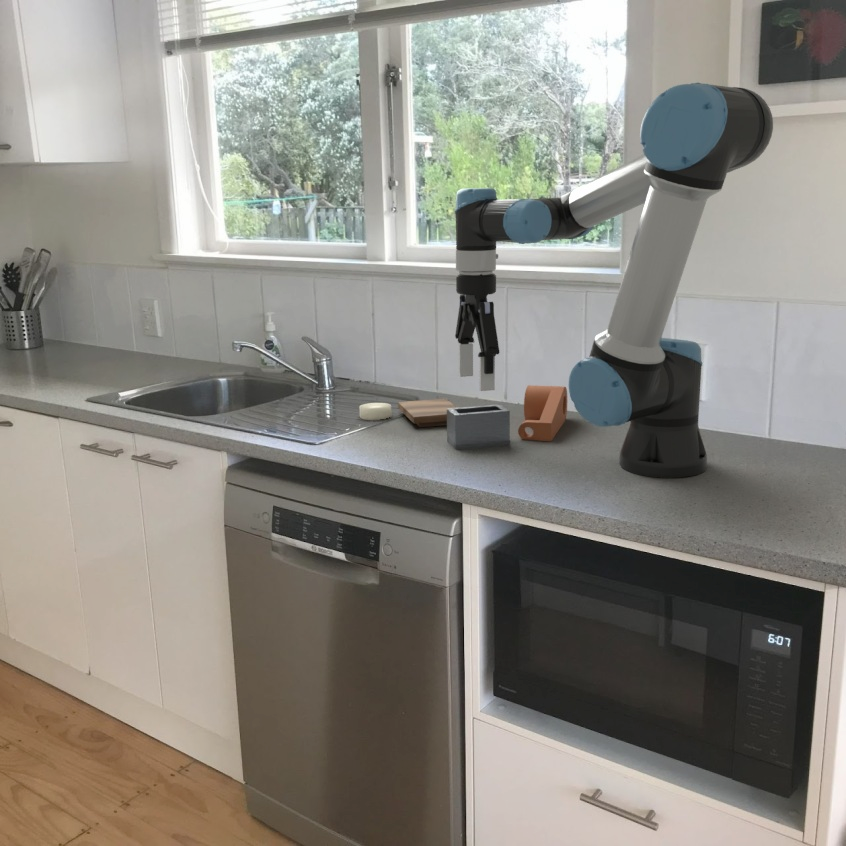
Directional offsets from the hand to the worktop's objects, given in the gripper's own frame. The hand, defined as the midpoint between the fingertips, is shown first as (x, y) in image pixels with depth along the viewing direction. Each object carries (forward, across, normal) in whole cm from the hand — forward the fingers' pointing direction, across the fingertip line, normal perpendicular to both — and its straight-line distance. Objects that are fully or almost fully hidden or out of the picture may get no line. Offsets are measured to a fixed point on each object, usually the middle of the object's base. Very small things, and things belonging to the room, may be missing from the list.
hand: (476, 383), depth 178 cm
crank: (+13, +7, -16) cm, 22 cm away
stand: (+13, +22, +4) cm, 25 cm away
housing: (+12, 0, 0) cm, 12 cm away
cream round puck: (+13, +28, +15) cm, 34 cm away
